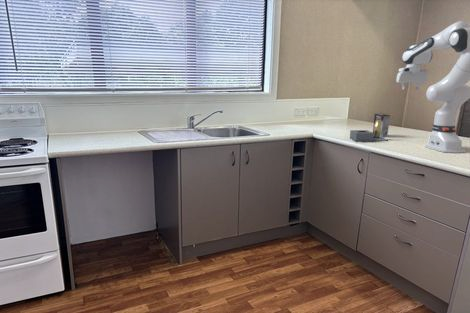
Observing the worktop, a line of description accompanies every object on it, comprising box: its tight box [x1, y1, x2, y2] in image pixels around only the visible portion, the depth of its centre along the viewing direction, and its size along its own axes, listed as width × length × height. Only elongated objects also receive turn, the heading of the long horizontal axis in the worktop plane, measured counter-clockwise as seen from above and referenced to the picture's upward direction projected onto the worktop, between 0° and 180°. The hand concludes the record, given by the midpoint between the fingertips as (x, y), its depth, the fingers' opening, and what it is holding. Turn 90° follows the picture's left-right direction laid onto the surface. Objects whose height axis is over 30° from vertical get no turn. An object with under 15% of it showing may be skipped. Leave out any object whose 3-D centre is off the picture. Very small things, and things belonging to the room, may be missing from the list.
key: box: [374, 121, 382, 138], centre depth 237 cm, size 4×4×12 cm
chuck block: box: [349, 129, 375, 143], centre depth 234 cm, size 12×12×6 cm
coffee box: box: [372, 113, 391, 138], centre depth 249 cm, size 9×6×16 cm
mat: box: [373, 137, 388, 142], centre depth 238 cm, size 12×10×1 cm
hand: (410, 89), depth 238 cm, fingers open, 8 cm apart
